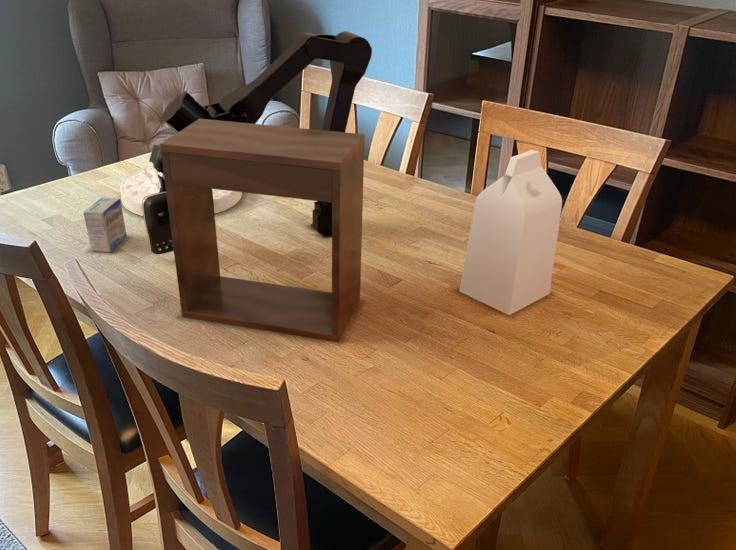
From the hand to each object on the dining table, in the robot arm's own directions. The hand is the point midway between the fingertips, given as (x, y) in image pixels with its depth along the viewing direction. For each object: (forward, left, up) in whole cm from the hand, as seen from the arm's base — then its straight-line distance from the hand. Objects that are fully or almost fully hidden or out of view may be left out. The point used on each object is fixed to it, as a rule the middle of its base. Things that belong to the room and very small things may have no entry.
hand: (157, 220), depth 141 cm
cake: (-15, -31, -9) cm, 35 cm away
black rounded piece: (-1, 0, -7) cm, 7 cm away
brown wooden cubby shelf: (-11, +27, -9) cm, 31 cm away
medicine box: (+7, -13, -9) cm, 17 cm away
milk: (-52, +42, -9) cm, 67 cm away
